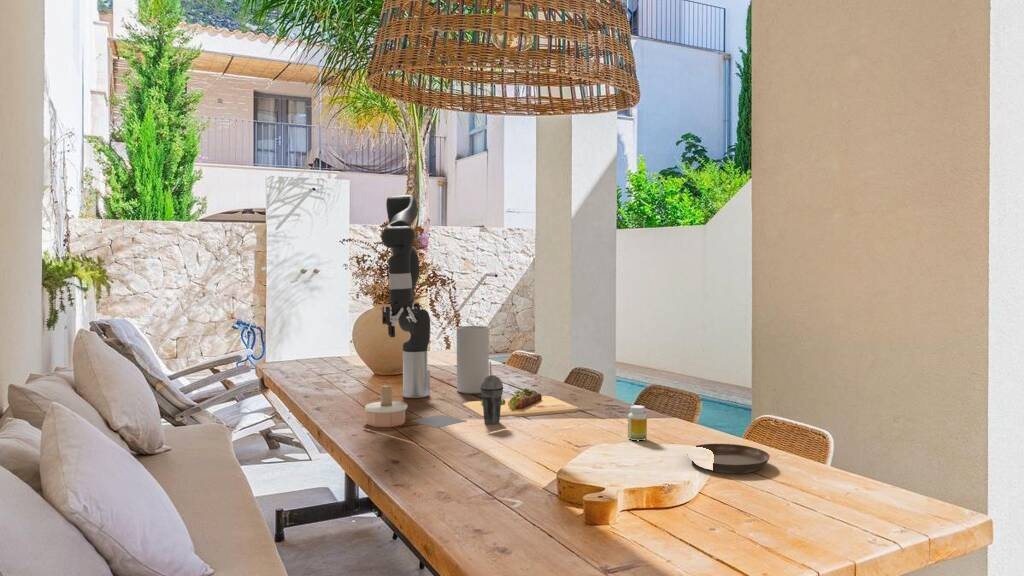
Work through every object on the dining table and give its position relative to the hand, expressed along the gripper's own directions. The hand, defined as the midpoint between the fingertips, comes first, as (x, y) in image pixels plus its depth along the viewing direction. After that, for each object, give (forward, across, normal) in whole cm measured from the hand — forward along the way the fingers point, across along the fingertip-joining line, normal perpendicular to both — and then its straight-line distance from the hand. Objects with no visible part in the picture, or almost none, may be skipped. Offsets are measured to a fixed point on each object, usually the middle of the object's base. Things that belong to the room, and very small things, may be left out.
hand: (402, 335), depth 245 cm
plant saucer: (+28, -18, +107) cm, 112 cm away
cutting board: (+29, -32, +22) cm, 49 cm away
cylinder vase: (+29, -44, -13) cm, 54 cm away
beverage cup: (+27, -8, +32) cm, 43 cm away
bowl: (+26, +14, +8) cm, 30 cm away
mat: (+26, +1, +18) cm, 32 cm away
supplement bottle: (+28, -24, +76) cm, 84 cm away
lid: (+21, +14, +8) cm, 26 cm away
